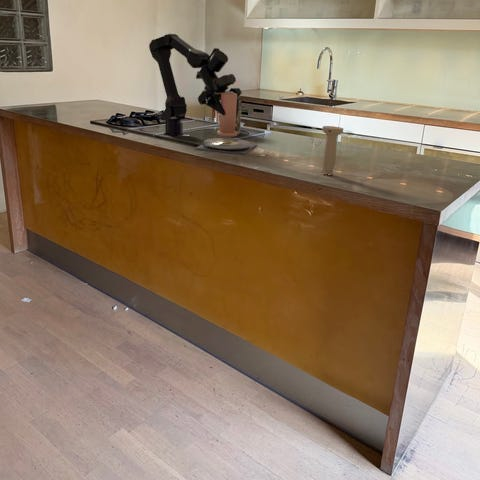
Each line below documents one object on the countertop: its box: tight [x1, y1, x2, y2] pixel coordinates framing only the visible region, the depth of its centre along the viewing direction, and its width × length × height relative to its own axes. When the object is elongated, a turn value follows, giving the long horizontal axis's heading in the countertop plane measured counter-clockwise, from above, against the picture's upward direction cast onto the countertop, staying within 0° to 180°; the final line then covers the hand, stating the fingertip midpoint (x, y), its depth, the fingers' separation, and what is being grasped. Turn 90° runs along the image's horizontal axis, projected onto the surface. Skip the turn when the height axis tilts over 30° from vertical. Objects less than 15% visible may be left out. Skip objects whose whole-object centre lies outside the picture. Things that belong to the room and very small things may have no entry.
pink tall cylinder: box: [216, 90, 238, 138], centre depth 183 cm, size 8×8×16 cm
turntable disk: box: [203, 137, 250, 150], centre depth 187 cm, size 18×18×1 cm
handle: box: [321, 125, 344, 175], centre depth 152 cm, size 5×6×15 cm
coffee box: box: [235, 95, 243, 136], centre depth 212 cm, size 9×6×16 cm
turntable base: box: [194, 142, 257, 156], centre depth 188 cm, size 19×19×1 cm
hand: (230, 114), depth 182 cm, fingers closed on pink tall cylinder, 6 cm apart
